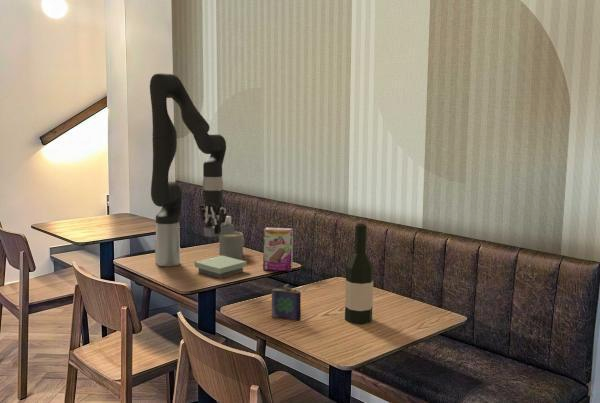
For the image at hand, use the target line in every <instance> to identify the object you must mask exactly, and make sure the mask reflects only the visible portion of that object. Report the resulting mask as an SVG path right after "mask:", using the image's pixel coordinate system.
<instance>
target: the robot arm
mask: <svg viewBox="0 0 600 403" xmlns="http://www.w3.org/2000/svg"><path fill="white" fill-rule="evenodd" d="M149 93H150V95H149V96H150V104H151V115H152V116H151V117H152V119H151V121H152V177H151V183H150V184H151V185H150V199H151V200H152V202H153V205H155V206H157V207H159V208H160V207H162V208H160V211H159V212H158V213H157V214H156V215H155V240H154V249H155V250H154V251H155V252H154V254H155V264H156V265H157V266H159V267H176V266H178V265H180V264H181V253H180V252H181V247H180V246H181V241H180V240H181V237H180V218H181V214H182V202H183V201H182V199H183V196H182V194H183V193H182V190H181V187H180V185H179V184H178V183H177V182H176V181H169V173H170V167H171V165H172V162H173V160H174V159H175V156H176V153H177V146H178V139H177V138H178V137H177V134H178V133H177V130H176V127H175V124H174V123H173V121H172V120H171V116H170V114H169V112H168V104H167V101H168V100H167V99H172V100H173V101H174V102H175V103H176V104H177V105H178V107H179V109H180V115H181V120H182V121H183V123H184V125H185V126H186V127H187V129H188V130H189V132H190V133H191V134H192V136H193V139H194V141H195V143H196V146H197V148H198V149H199V151H201V152H202V153H203V154H205V155H210V156H209V158H208V159H207V160H205V161H204V162H203V167H202V168H203V170H202V171H203V172H202V174H203V177H202V178H203V179H202V200H203V201H204V204H200V205H198V208H199V213H200V216H201V217H200V218H201V220H202V221H204V222H205V228H206V227H211V226H213V220H214V226H215V234H220V232H221V224H222V223H225V220H226V216H228V211H229V210H228V208H227V207H226V208H225V207H223V204H222V202H223V201H224V182H223V181H224V180H223V163H224V161H225V155H226V152H227V142H226V139H225V138H224V136H223V135H222V134H209V131H210V129H211V128H210V124H209V123H208V121H207V120H206V119H205V117H203V115H202V114H201V113H200V111H199V110H198V109H197V107H196V106H195V104H194V102H193V100H192V99H191V97H190V95H189V93H188V91H187V89H186V88H185V86H184V83H182V81H181V79H180V78H179V77H178V76H177V75H175V74H172V73H163V72H162V73H159V72H158V73H154V74H153V75H152V76H151V77H150V81H149Z"/></svg>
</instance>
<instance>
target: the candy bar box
mask: <svg viewBox="0 0 600 403" xmlns="http://www.w3.org/2000/svg"><path fill="white" fill-rule="evenodd" d="M293 242H294V228H290V227H287V228H285V227H267V226H266V227H265V228H263V256H262V257H263V265H262V270H263V271H275V272H277V271H278V272H291V271H292V270H293V256H294V255H293V252H294V251H293V250H294V249H293V247H294V246H293V245H294V243H293Z"/></svg>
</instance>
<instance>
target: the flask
mask: <svg viewBox="0 0 600 403" xmlns="http://www.w3.org/2000/svg"><path fill="white" fill-rule="evenodd" d="M289 286H290V284H289V283H286V284H285V285H283V288H273V289H271V318H272V319H276V320H283V321H285V320H286V321H293V322H300V321H301V316H302V315H301V313H302V312H301V311H302V310H301V305H302V304H301V303H302V300H301V295H302V293H301V291H300V290H297V289H294V288H292V287H289Z"/></svg>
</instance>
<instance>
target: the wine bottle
mask: <svg viewBox="0 0 600 403" xmlns="http://www.w3.org/2000/svg"><path fill="white" fill-rule="evenodd" d="M367 227H368V226H367V225H366V222H363V221H362V222H361V221H360V222H359V221H357V222H356V224H355V228H354V229H355V232H354V233H355V234H354V235H355V236H354V253H353V254H352V257H351V258H350V259H349V262H348V263H347V265H346V266H345V296H344V297H345V301H344V302H345V303H344V305H345V306H344V310H345V311H344V320H345V321H346V322H347V323H349V324H352V325H353V324H354V325H366V324H370V323H371V322H372V320H373V306H374V305H373V302H374V272H375V270H374V267H375V265H374V264H373V263H372V261H371V259H370V257H369V256H368V254H367V235H368V233H367V232H368V228H367Z"/></svg>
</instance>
